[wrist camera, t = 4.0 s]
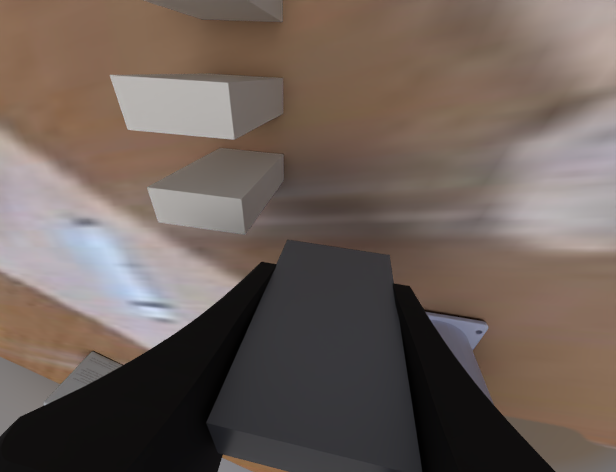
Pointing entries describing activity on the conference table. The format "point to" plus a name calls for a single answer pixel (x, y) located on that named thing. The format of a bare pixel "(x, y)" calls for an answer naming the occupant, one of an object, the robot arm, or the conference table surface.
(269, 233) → the conference table surface
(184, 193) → the tile
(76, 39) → the conference table surface
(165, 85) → the tile
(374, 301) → the tile
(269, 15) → the tile
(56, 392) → the skincare box
